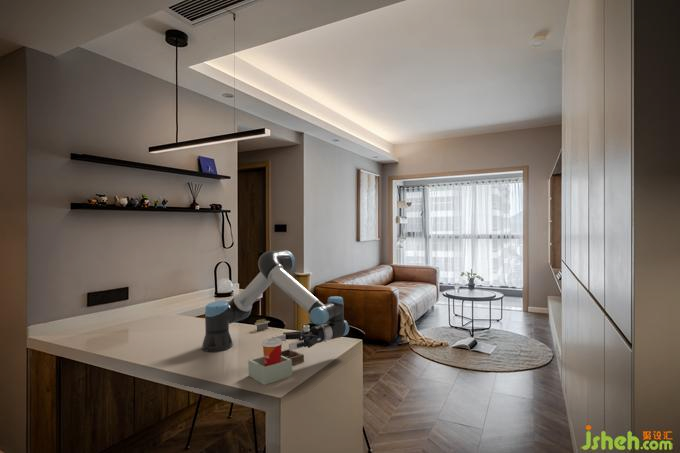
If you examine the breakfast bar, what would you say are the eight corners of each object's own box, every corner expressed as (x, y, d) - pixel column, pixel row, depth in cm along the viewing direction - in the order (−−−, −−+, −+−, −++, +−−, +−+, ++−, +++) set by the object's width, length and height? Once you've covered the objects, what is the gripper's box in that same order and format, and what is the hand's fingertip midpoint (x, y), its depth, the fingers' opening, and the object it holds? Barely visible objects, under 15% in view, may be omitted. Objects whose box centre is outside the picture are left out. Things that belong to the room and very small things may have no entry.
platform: (243, 331, 223) (243, 321, 223) (268, 326, 236) (268, 315, 236) (254, 335, 215) (254, 324, 215) (279, 329, 228) (279, 318, 228)
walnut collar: (267, 361, 168) (267, 354, 168) (289, 355, 176) (289, 348, 176) (281, 368, 159) (281, 361, 159) (303, 361, 167) (303, 354, 167)
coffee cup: (262, 374, 152) (261, 338, 153) (282, 372, 154) (281, 336, 155) (263, 382, 144) (262, 344, 144) (283, 379, 146) (283, 342, 146)
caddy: (248, 375, 151) (248, 359, 151) (275, 367, 160) (275, 352, 160) (264, 384, 141) (263, 368, 142) (292, 375, 150) (291, 359, 150)
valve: (299, 338, 205) (314, 341, 197) (299, 326, 205) (314, 329, 198) (308, 335, 210) (322, 339, 202) (307, 324, 210) (322, 327, 202)
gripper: (337, 347, 158) (297, 359, 145) (304, 336, 177) (266, 346, 163) (337, 330, 159) (297, 340, 145) (304, 321, 177) (265, 329, 164)
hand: (280, 343), depth 154 cm, fingers open, 13 cm apart
